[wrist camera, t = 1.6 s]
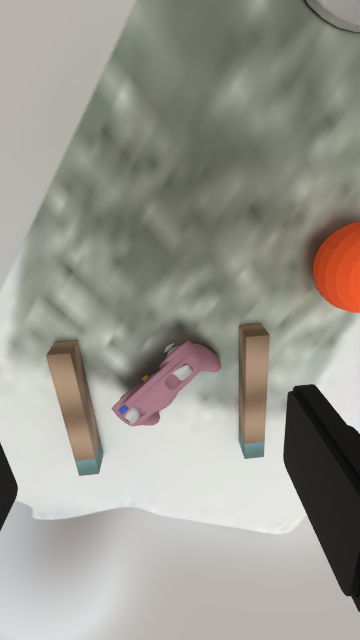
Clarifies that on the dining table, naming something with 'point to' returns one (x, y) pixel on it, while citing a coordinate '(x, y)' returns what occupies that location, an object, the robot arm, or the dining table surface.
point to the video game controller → (165, 383)
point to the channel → (81, 414)
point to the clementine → (340, 268)
